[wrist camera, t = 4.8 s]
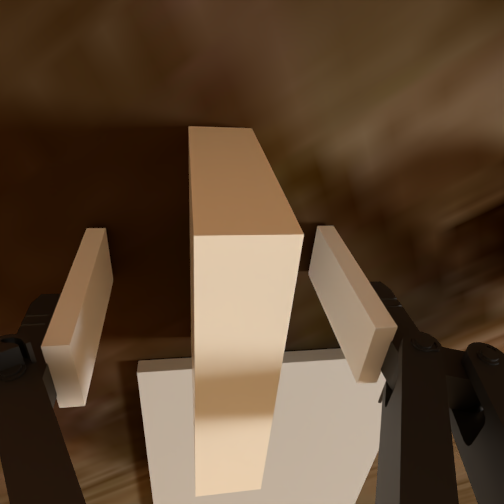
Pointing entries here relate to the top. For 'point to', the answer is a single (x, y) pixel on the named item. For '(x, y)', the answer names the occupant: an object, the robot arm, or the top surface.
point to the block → (236, 303)
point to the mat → (281, 436)
